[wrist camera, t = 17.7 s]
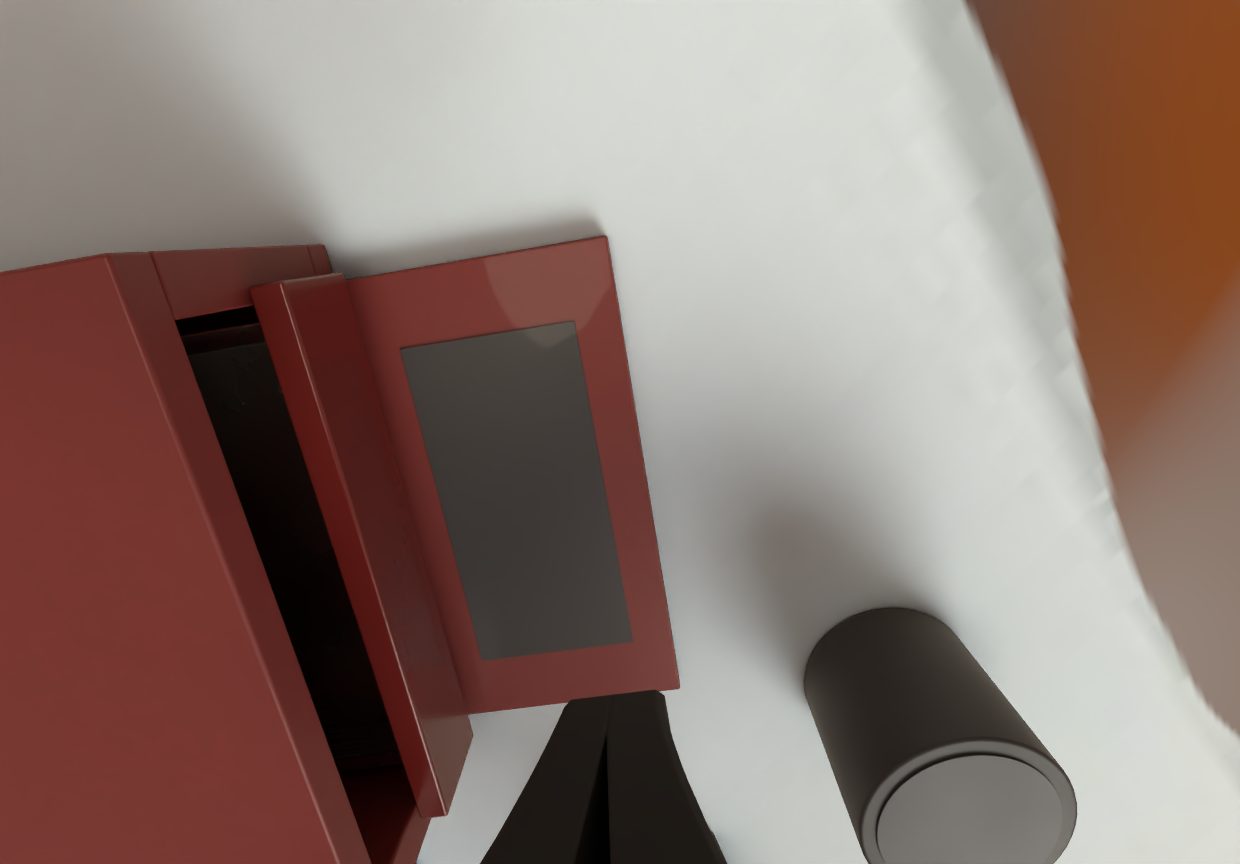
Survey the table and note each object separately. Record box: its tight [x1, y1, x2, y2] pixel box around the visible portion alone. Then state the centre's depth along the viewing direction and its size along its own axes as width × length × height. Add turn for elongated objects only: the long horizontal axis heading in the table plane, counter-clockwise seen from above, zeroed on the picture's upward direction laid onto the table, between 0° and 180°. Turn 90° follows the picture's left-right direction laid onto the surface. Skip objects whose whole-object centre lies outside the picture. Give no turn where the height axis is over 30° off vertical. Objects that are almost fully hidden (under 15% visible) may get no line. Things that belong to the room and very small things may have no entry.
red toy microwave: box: [0, 236, 680, 864], centre depth 16 cm, size 22×16×8 cm
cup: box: [804, 608, 1077, 864], centre depth 18 cm, size 5×5×6 cm
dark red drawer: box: [179, 272, 473, 819], centre depth 17 cm, size 13×14×3 cm
